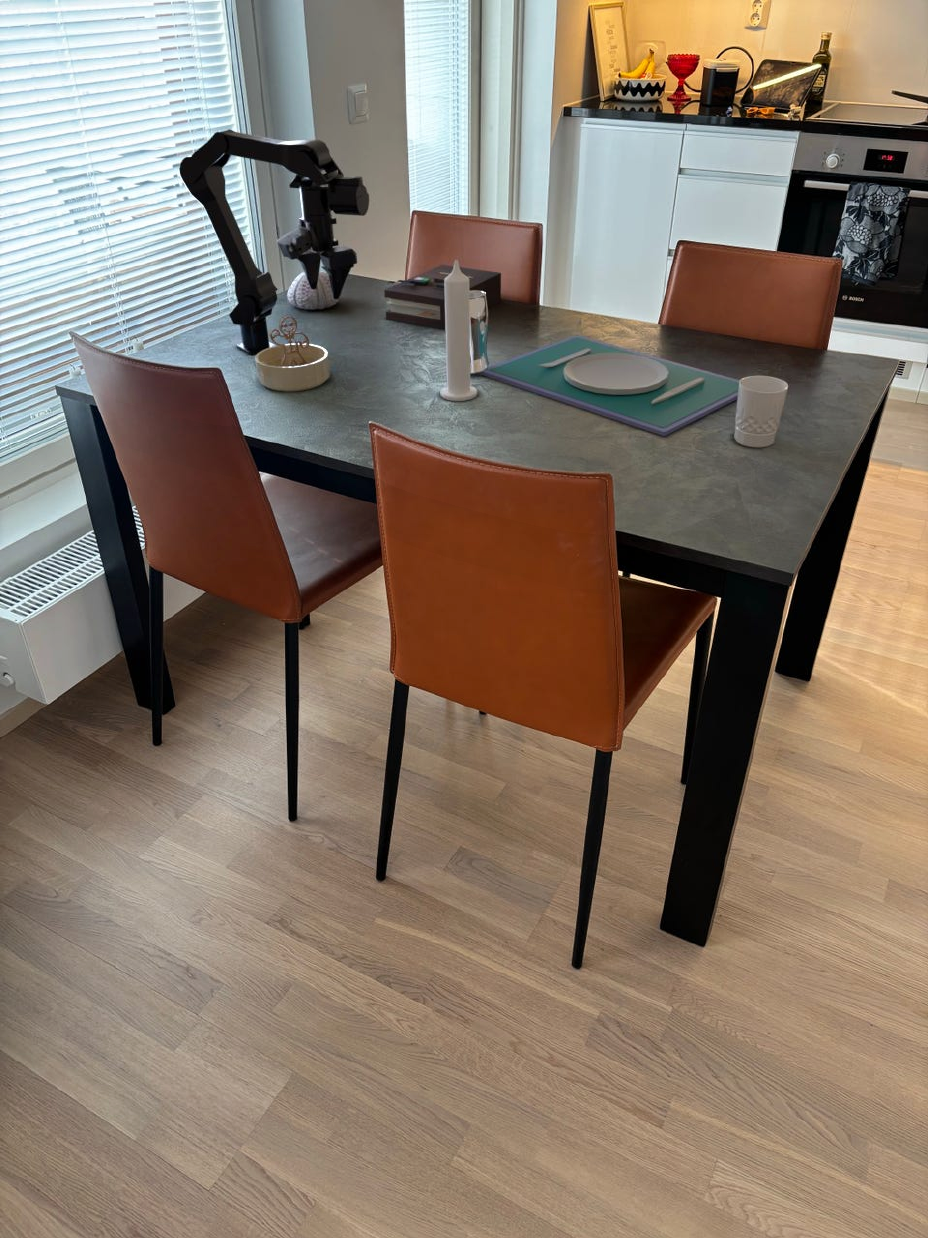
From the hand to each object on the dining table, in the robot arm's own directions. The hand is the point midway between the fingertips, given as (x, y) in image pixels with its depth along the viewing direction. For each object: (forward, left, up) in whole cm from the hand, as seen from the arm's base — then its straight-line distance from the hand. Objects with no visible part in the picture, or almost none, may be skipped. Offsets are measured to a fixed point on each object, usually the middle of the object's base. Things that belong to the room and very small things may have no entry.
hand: (324, 293), depth 193 cm
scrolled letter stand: (+7, -13, -13) cm, 19 cm away
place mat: (+49, +36, -13) cm, 62 cm away
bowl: (+7, -13, -13) cm, 20 cm away
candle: (+35, +8, -13) cm, 38 cm away
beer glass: (+27, +18, -13) cm, 35 cm away
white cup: (+84, +35, -13) cm, 92 cm away
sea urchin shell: (-35, +16, -13) cm, 41 cm away
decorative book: (-11, +38, -13) cm, 42 cm away
